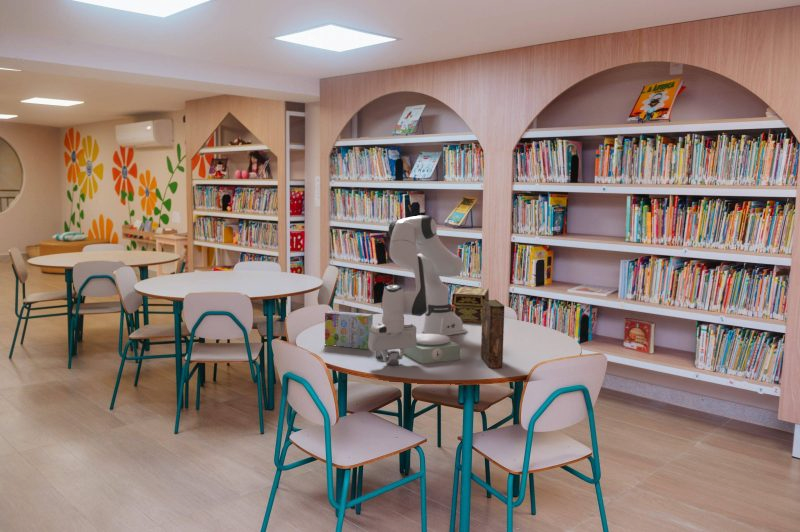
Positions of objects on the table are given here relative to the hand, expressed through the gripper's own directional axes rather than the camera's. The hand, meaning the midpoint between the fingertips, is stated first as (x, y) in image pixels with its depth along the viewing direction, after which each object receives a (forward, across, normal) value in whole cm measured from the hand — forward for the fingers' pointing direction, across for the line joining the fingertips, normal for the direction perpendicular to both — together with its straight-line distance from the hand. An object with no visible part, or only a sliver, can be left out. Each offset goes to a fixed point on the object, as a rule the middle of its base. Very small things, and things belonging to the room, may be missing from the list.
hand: (392, 359), depth 257 cm
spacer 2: (+2, 0, 0) cm, 2 cm away
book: (+2, -38, +14) cm, 41 cm away
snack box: (+2, +6, -34) cm, 35 cm away
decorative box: (+2, -79, -69) cm, 105 cm away
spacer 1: (+2, 0, -11) cm, 11 cm away
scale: (+2, -20, -6) cm, 21 cm away
